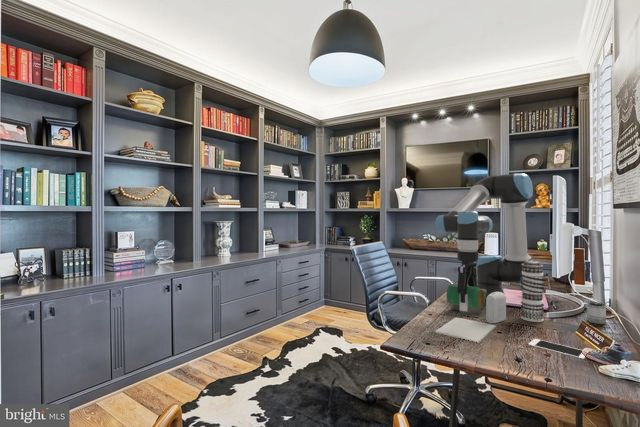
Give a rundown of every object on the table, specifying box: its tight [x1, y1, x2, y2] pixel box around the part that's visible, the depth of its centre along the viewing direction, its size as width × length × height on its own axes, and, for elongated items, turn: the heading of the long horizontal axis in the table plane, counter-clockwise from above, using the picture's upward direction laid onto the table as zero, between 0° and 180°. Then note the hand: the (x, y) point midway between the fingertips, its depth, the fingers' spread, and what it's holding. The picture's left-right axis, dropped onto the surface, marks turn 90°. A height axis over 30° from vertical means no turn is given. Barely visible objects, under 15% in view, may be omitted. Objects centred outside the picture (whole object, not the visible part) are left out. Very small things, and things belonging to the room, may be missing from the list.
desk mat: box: [434, 316, 496, 344], centre depth 138 cm, size 22×16×1 cm
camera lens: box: [586, 301, 607, 325], centre depth 146 cm, size 6×6×8 cm
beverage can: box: [446, 283, 484, 308], centre depth 137 cm, size 8×8×12 cm
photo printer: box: [485, 292, 507, 324], centre depth 148 cm, size 10×4×12 cm, turn 123°
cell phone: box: [527, 338, 586, 360], centre depth 119 cm, size 8×16×1 cm, turn 42°
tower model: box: [519, 260, 546, 323], centre depth 150 cm, size 9×9×25 cm
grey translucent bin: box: [449, 289, 487, 315], centre depth 162 cm, size 16×9×11 cm, turn 80°
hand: (467, 308), depth 136 cm, fingers closed on beverage can, 8 cm apart
